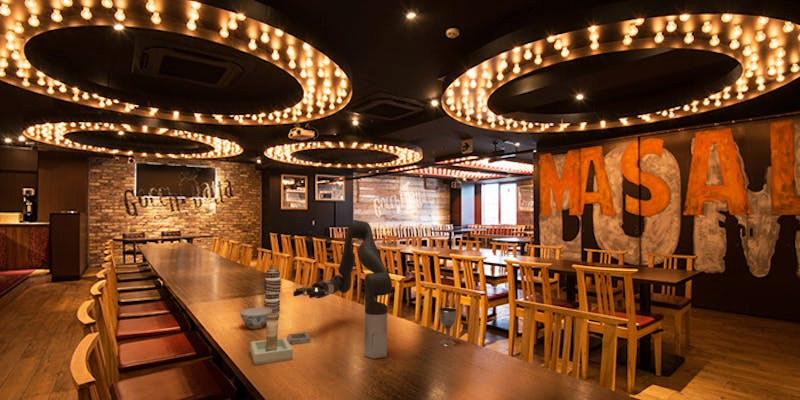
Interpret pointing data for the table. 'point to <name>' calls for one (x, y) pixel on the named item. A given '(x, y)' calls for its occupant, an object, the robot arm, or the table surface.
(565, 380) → the table surface
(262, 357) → the tray
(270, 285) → the decorative candle
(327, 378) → the table surface
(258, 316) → the chinaware
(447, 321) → the wine glass
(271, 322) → the stop peg
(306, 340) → the stop collar
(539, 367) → the table surface
